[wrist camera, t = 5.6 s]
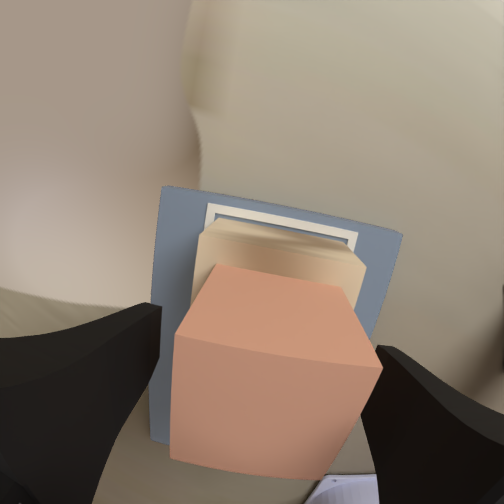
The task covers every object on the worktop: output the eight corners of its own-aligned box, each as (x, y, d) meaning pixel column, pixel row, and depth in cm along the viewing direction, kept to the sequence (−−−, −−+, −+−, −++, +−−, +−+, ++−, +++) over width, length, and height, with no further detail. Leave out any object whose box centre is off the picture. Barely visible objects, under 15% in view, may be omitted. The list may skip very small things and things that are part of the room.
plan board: (395, 230, 15) (403, 235, 14) (308, 458, 20) (308, 468, 19) (168, 185, 15) (161, 186, 14) (154, 431, 20) (150, 440, 19)
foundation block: (343, 241, 14) (366, 267, 11) (312, 349, 16) (321, 396, 12) (218, 217, 15) (199, 234, 11) (202, 328, 16) (183, 372, 12)
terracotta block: (340, 286, 11) (382, 367, 6) (309, 384, 12) (321, 480, 7) (216, 263, 11) (174, 334, 6) (202, 366, 12) (169, 457, 7)
